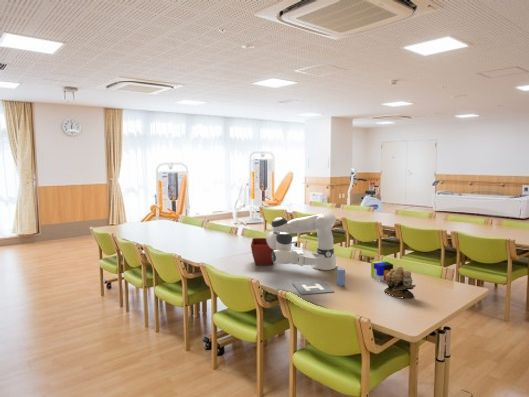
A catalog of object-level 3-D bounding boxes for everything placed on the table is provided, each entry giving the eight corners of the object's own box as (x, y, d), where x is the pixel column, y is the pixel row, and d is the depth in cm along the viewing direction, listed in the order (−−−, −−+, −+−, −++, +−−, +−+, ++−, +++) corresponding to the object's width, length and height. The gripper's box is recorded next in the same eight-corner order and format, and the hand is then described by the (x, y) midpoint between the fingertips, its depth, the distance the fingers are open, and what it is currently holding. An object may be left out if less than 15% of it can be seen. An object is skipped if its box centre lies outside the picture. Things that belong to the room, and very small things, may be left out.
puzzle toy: (379, 281, 250) (379, 265, 249) (370, 276, 259) (371, 261, 258) (392, 279, 252) (393, 264, 251) (384, 275, 262) (384, 260, 261)
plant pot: (277, 258, 305) (277, 237, 303) (277, 267, 286) (276, 244, 284) (253, 258, 306) (252, 238, 304) (251, 267, 288) (250, 244, 285)
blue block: (336, 283, 246) (336, 268, 245) (343, 283, 246) (343, 268, 245) (338, 285, 242) (338, 270, 241) (344, 285, 242) (345, 269, 241)
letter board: (292, 284, 246) (292, 283, 246) (322, 281, 250) (322, 280, 250) (301, 295, 226) (301, 294, 226) (334, 292, 230) (334, 291, 230)
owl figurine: (419, 295, 224) (419, 266, 222) (410, 301, 215) (411, 271, 213) (389, 288, 236) (389, 260, 234) (380, 293, 228) (380, 265, 226)
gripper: (295, 257, 250) (316, 257, 251) (301, 266, 230) (324, 267, 231) (295, 247, 249) (316, 248, 251) (301, 256, 229) (324, 256, 230)
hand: (320, 257), depth 241 cm, fingers open, 8 cm apart
